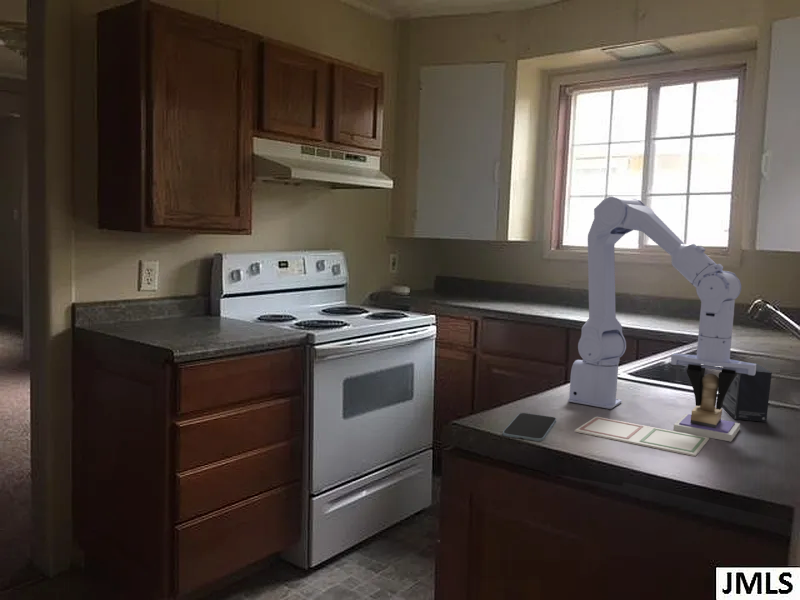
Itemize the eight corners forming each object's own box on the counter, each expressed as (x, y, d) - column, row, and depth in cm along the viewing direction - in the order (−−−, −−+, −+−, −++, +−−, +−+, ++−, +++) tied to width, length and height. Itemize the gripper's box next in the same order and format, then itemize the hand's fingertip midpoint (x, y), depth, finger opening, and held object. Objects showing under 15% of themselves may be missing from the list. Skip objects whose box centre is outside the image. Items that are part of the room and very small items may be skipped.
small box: (769, 423, 138) (774, 371, 137) (734, 420, 140) (738, 369, 138) (753, 409, 149) (757, 361, 147) (721, 406, 150) (725, 359, 149)
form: (574, 431, 128) (574, 429, 127) (595, 417, 137) (596, 415, 137) (695, 456, 116) (695, 454, 116) (709, 439, 126) (709, 437, 126)
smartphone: (501, 433, 124) (519, 412, 137) (500, 438, 124) (519, 416, 138) (542, 439, 121) (557, 417, 135) (542, 444, 121) (557, 422, 135)
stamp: (690, 422, 130) (696, 374, 129) (696, 416, 135) (702, 369, 134) (715, 428, 128) (722, 378, 127) (720, 420, 133) (726, 373, 132)
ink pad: (673, 430, 130) (674, 423, 130) (684, 419, 138) (685, 412, 138) (731, 441, 125) (731, 433, 125) (739, 429, 133) (740, 422, 132)
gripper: (669, 333, 130) (663, 404, 132) (754, 343, 122) (747, 418, 124) (678, 329, 136) (672, 397, 138) (760, 338, 128) (753, 410, 129)
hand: (708, 406), depth 131 cm, fingers closed on stamp, 3 cm apart
